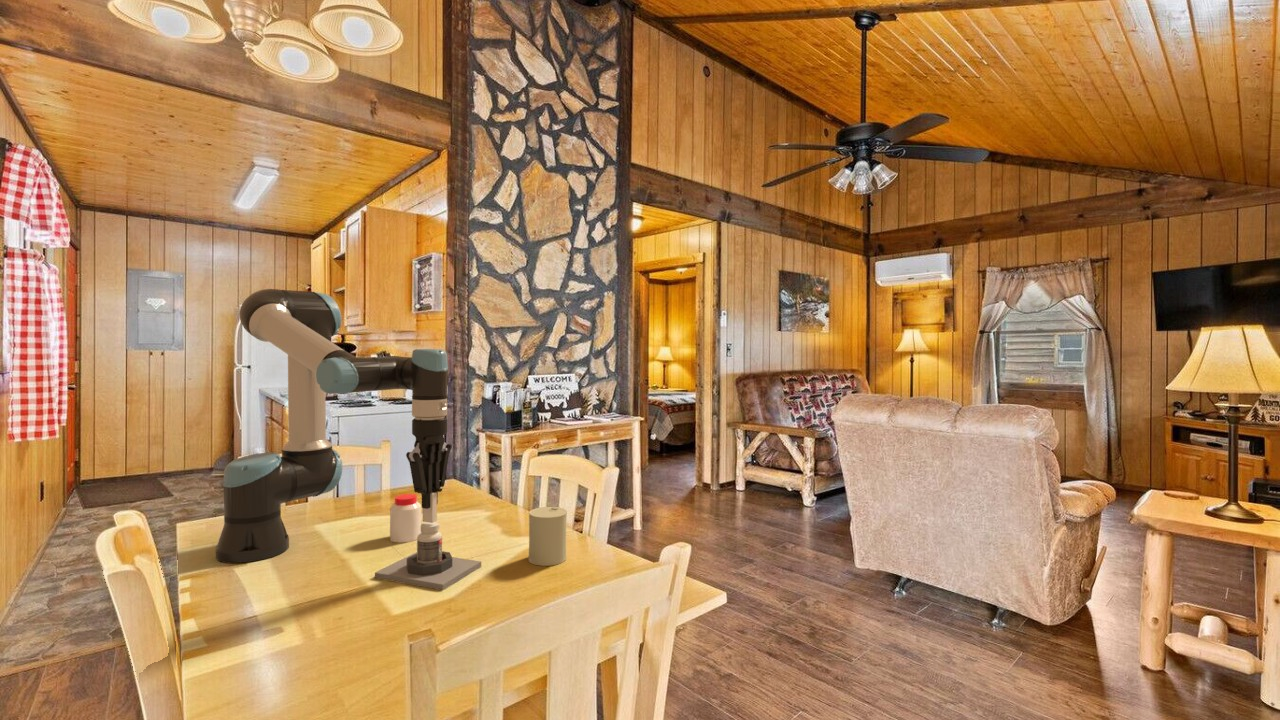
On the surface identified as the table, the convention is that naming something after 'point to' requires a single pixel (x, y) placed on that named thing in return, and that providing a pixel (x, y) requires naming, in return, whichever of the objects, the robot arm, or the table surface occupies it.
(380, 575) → the collar plate
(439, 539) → the pill bottle
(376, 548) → the table surface
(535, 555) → the can
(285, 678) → the table surface
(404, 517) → the pill bottle
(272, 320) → the robot arm
